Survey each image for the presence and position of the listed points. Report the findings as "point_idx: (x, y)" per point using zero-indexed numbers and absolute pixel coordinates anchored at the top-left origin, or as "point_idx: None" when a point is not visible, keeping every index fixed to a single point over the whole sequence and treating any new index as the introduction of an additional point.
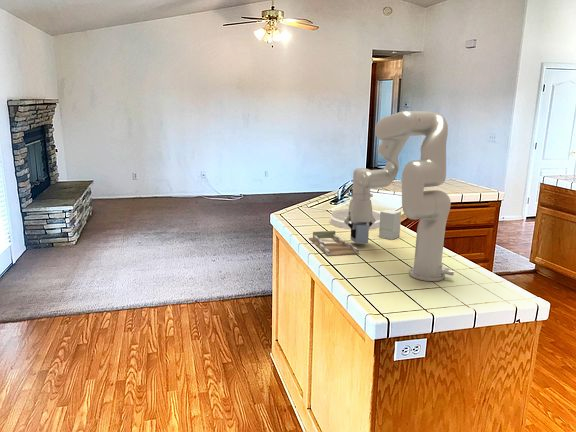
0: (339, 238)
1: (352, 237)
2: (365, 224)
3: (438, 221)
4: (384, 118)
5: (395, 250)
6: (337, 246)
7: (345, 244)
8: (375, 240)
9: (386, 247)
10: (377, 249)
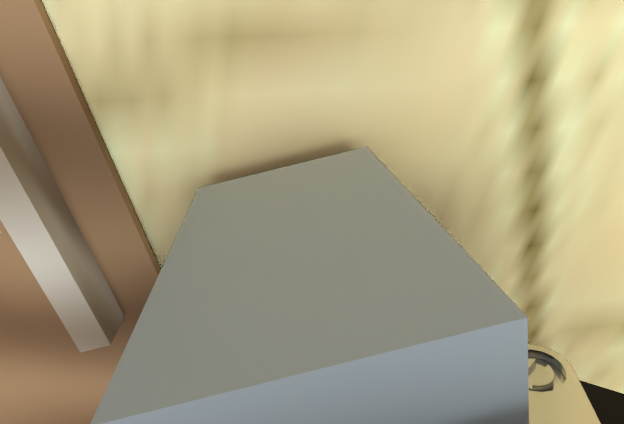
0: (4, 189)
1: None
2: None
3: None
4: None
5: (612, 373)
6: (33, 365)
7: (131, 289)
8: (595, 27)
9: (579, 304)
10: None
